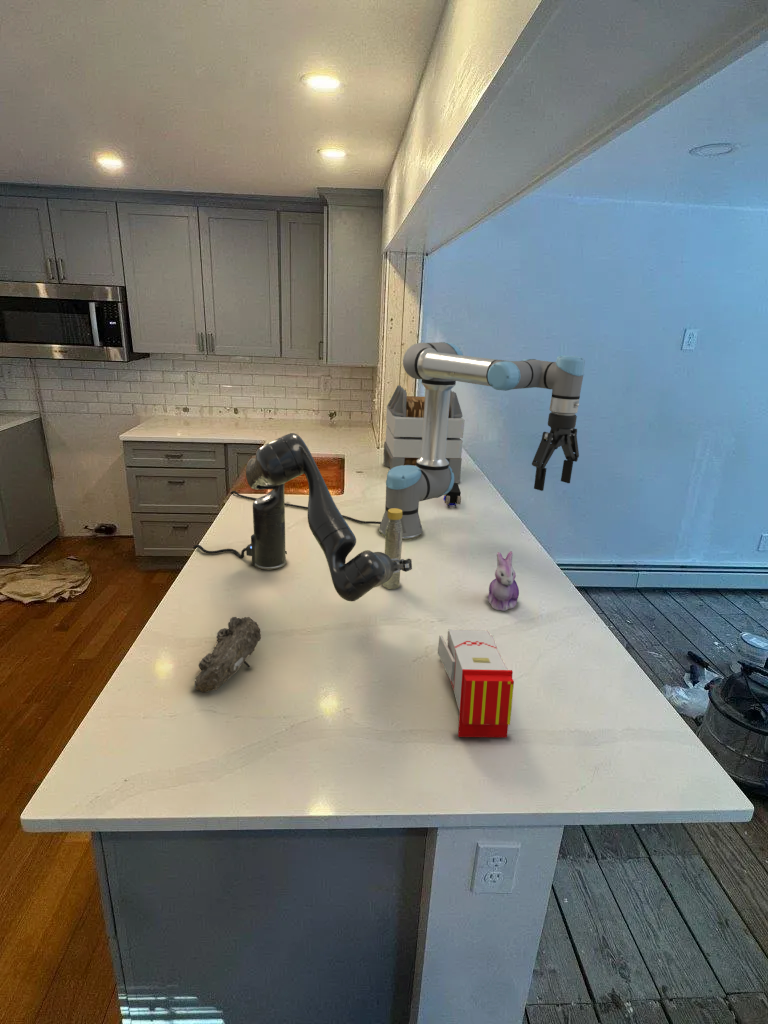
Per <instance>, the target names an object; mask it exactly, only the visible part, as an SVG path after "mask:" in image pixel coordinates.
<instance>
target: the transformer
mask: <svg viewBox="0 0 768 1024" xmlns="http://www.w3.org/2000/svg"><path fill="white" fill-rule="evenodd" d="M407 394H408V393H407V390H406V389H404V388H403V387H402V385H399V384H398V385H397V386H396V388H395V390H394V392H393V394H392V395H391V398H390V400H389V402H388V404H387V405H386V413H385V414H386V415H385V423H386V428H385V438H384V442H383V466H384V467H388V468H389V470H390V469H392V468H394V467H396V466H401V465H404V466H405V465H413V466H416V461H417V459H418V458H420V457H421V449H422V434H423V419H424V404H425V396H415V395H414V396H413V395H412V396H411V395H407ZM464 429H465V419H464V418H463V411H462V408H461V405H460V402H459V398H458V395H457V392H455V391H453V390H451V392H450V404H449V416H448V428H447V441H446V453H445V458H446V459H447V461H448V462H449V466H450V467H451V469H452V473H454V483H458V484H459V483H461V472H462V461H463V460H462V453H463V442H464V441H463V440H462V439H463V438H464V431H465V430H464Z"/></svg>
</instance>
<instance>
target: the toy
mask: <svg viewBox="0 0 768 1024" xmlns="http://www.w3.org/2000/svg"><path fill="white" fill-rule="evenodd" d="M446 640H447V643H446V641H445V639H444V636H443V635H442V634H439V637H438V646H437V656H438V657H439V659H440V661H441V663H442V666H443V668H444V670H445V672H446V674H447V677H448V679H449V681H450V684H451V687H452V690H453V693H454V697H455V701H456V705H457V708H458V711H459V714H458V715H459V716H458V730H457V731H458V732H457V737H458V738H508V731H509V726H510V725H511V717H512V707H513V697H514V696H513V695H514V684H515V680H514V679H513V673H514V671H513V670H512V669H508V667H507V665H506V662H505V661H504V659H503V658H502V655H501V653H500V651H499V649H498V647H497V643H496V639H495V637H494V635H493V634H491V632H490V631H489V629H467V628H466V629H465V628H463V629H461V628H460V629H459V628H448V630H447V639H446Z"/></svg>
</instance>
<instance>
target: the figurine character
mask: <svg viewBox="0 0 768 1024" xmlns="http://www.w3.org/2000/svg"><path fill="white" fill-rule="evenodd" d="M442 499H443V501H444V504H445V505H447V509H450V507H451V506H454V509H457V508H458V506H457V505H461V504H462V496H461V488H460V486H459V483H454V484H453V487H452V489H451V490H450V491H449V492H448V493H447V494H445V495H443V498H442Z"/></svg>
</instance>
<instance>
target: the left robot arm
mask: <svg viewBox="0 0 768 1024" xmlns="http://www.w3.org/2000/svg"><path fill="white" fill-rule="evenodd" d="M302 475H304V476H305V478H306V481H307V485H308V503H307V507H308V509H307V523H308V527H309V529H310V531H311V533H312V535H313V536H314V538H315V540H316V542H317V543H318V545H319V547H320V549H321V550H322V552H323V554H324V557H325V559H326V562H327V565H328V569H329V574H330V577H331V582H332V584H333V588H334V590H335V592H336V593H337V594H338V596H339V597H340V598H342V600H345V601H347V602H350V603H351V602H356V601H358V600H359V599H360V598H362V597H363V596H365V594H368V593H369V592H370V591H371V590H373V589H375V588H377V587H380V586H383V584H384V583H385V582H387V581H388V580H389V579H390V578H391V577H392V575H393V573H398V572H399V571H400V572H401V571H402V572H405V573H407V572H409V571H412V570H413V563H412V562H413V561H412V559H411V558H406V559H404V558H401V560H398V558H393V559H391V558H390V557H389V556H388V555H386V554H385V552H382V551H371V550H368V549H366V550H363V551H361V552H359V553H358V554H356V555H354V557H352V558H351V559H350V560H349V561H347V562H346V560H347V557H348V556H349V554H350V553H351V552H352V551H353V549H354V548H355V546H356V544H357V538H356V535H355V534H354V532H353V531H352V529H351V527H350V526H349V524H348V522H347V521H346V519H345V518H343V516H342V515H343V514H342V513H341V512H340V510H339V508H338V506H337V505H336V503H335V501H334V499H333V496H332V495H331V493H330V492H331V491H329V487H328V486H327V484H326V481H325V479H324V477H323V476H322V473H321V471H320V469H319V468H318V465H317V463H316V461H315V459H314V456H313V455H312V453H311V451H310V448H309V447H308V446H307V444H306V442H305V440H303V439H302V437H301V436H299V434H297V433H295V432H290V433H287V434H284V435H282V436H280V437H278V438H276V439H274V440H271V441H270V442H267V443H265V444H263V445H261V446H260V447H259V448H258V449H257V450H256V452H255V457H252V458H250V459H249V460H248V461H247V464H246V467H245V478H246V482H247V484H248V486H249V487H250V488H251V489H252V490H257V491H259V490H262V491H263V490H271V491H270V492H268V493H266V494H265V495H263V496H261V497H257V498H258V499H256V500H253V502H252V522H253V523H252V524H253V534H251V535H250V543H249V544H248V545H247V546H245V547H244V548H243V549H242V550H240V551H241V552H238V550H236V549H233V548H223V549H217V550H207V549H205V548H204V547H202V545H200V544H195V545H194V546H193V547H192V549H193V550H194V549H195V550H196V549H199V550H200V551H201V552H202V553H204V554H207V555H216V554H222V553H229V552H230V553H233V554H235V555H236V556H237V558H240V559H242V558H244V557H245V553H246V557H247V556H248V557H251V566H255V567H256V568H257V569H260V570H263V571H264V570H266V571H274V570H278V569H281V568H283V567H285V566H286V565H287V559H286V558H287V556H286V555H288V552H287V550H286V507H285V506H286V505H285V503H286V502H285V489H286V486H285V485H286V483H288V482H289V481H292V480H294V479H296V478H298V477H300V476H302ZM392 561H393V562H392Z"/></svg>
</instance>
